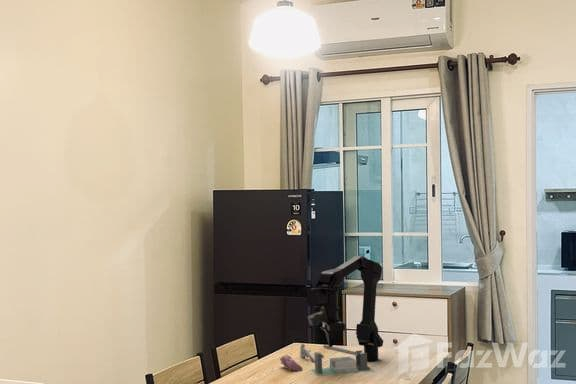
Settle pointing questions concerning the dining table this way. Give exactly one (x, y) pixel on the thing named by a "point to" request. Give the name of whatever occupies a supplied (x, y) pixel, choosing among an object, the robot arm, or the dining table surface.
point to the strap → (342, 350)
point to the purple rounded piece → (290, 363)
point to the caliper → (306, 353)
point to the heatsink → (343, 364)
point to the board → (328, 371)
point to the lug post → (318, 362)
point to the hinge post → (362, 361)
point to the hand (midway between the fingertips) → (330, 346)
